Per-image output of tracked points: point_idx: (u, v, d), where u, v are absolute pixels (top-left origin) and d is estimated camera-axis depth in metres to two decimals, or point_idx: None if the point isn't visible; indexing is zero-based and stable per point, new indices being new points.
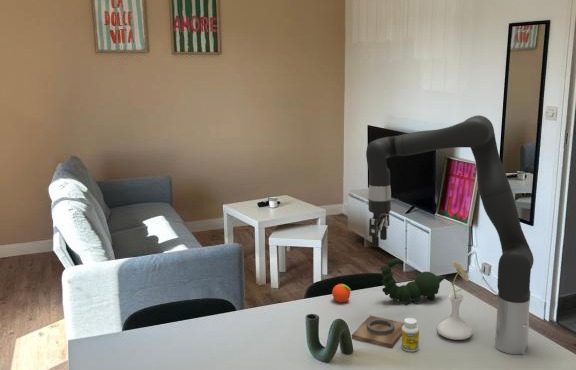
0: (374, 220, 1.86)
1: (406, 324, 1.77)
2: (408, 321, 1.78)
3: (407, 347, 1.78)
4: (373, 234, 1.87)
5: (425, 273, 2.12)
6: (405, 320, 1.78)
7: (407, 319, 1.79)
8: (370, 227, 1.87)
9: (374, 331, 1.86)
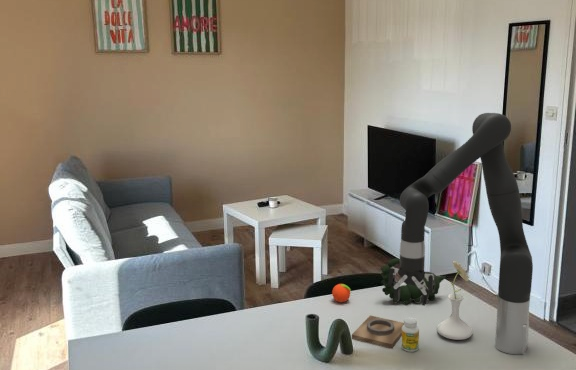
0: (433, 275, 1.72)
1: (406, 324, 1.77)
2: (408, 321, 1.78)
3: (407, 347, 1.78)
4: (433, 290, 1.72)
5: (425, 273, 2.12)
6: (405, 320, 1.78)
7: (407, 319, 1.79)
8: (432, 284, 1.71)
9: (374, 331, 1.86)
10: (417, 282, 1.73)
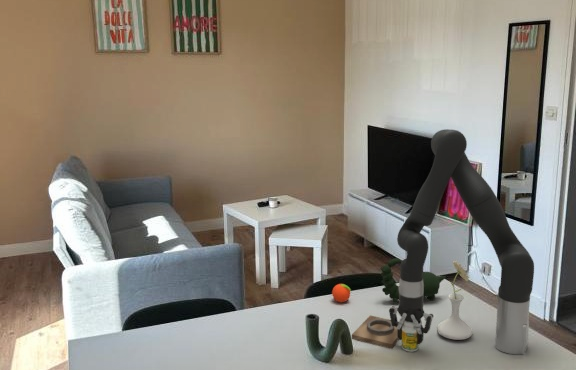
0: (432, 316, 1.75)
1: (406, 324, 1.77)
2: None
3: (407, 346, 1.78)
4: (428, 330, 1.76)
5: (425, 273, 2.12)
6: None
7: None
8: (429, 325, 1.74)
9: (374, 331, 1.86)
10: (415, 321, 1.75)
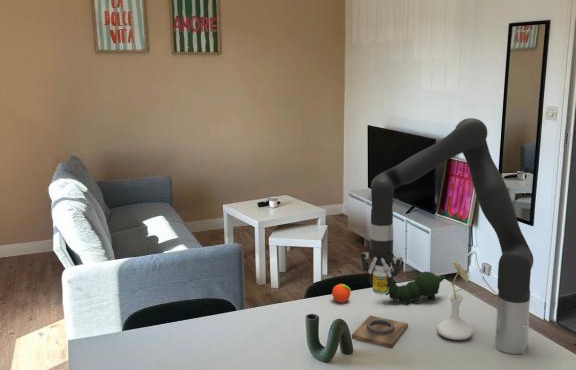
0: (401, 259, 1.81)
1: (377, 268, 1.84)
2: None
3: (377, 290, 1.84)
4: (398, 273, 1.83)
5: (425, 273, 2.12)
6: None
7: None
8: (398, 268, 1.81)
9: (374, 331, 1.86)
10: (385, 264, 1.82)
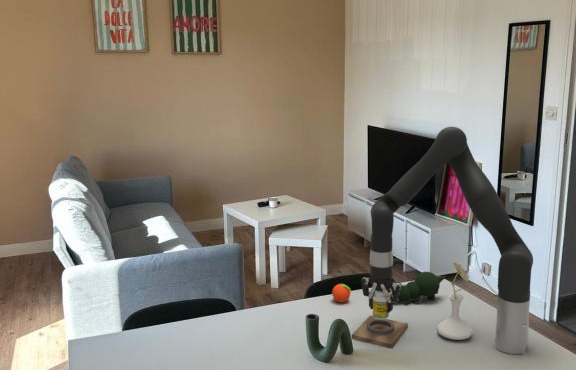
0: (400, 285, 1.84)
1: (376, 293, 1.86)
2: None
3: (377, 315, 1.87)
4: (397, 298, 1.85)
5: (425, 273, 2.12)
6: None
7: None
8: (398, 294, 1.83)
9: (374, 331, 1.86)
10: (385, 290, 1.84)
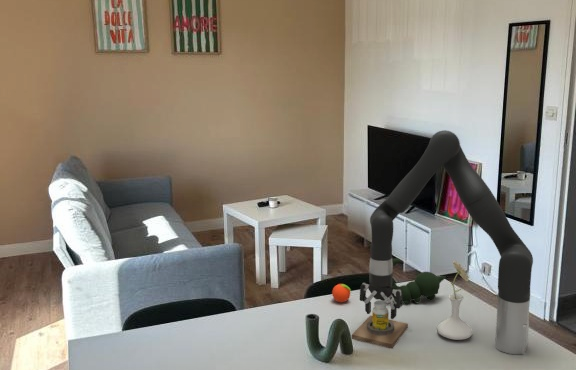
0: (400, 291, 1.84)
1: (376, 306, 1.87)
2: (378, 303, 1.87)
3: (377, 327, 1.88)
4: (401, 305, 1.85)
5: (425, 273, 2.12)
6: (375, 302, 1.88)
7: (377, 301, 1.89)
8: (400, 299, 1.83)
9: (374, 331, 1.86)
10: (385, 297, 1.85)
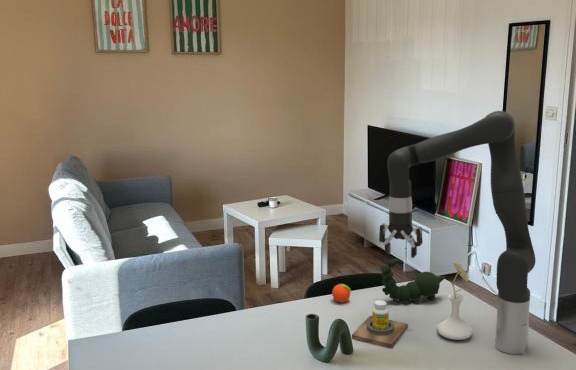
0: (420, 228, 1.85)
1: (376, 306, 1.87)
2: (378, 303, 1.87)
3: (377, 327, 1.88)
4: (421, 242, 1.85)
5: (425, 273, 2.12)
6: (375, 302, 1.88)
7: (377, 301, 1.89)
8: (420, 237, 1.84)
9: (374, 331, 1.86)
10: (406, 236, 1.85)
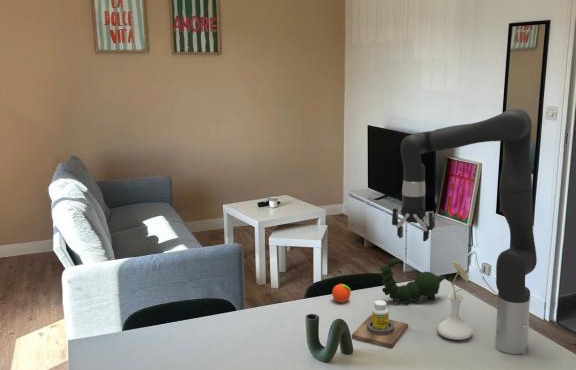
0: (433, 212, 1.87)
1: (376, 306, 1.87)
2: (378, 303, 1.87)
3: (377, 327, 1.88)
4: (433, 226, 1.88)
5: (425, 273, 2.12)
6: (375, 302, 1.88)
7: (377, 301, 1.89)
8: (432, 221, 1.87)
9: (374, 331, 1.86)
10: (418, 219, 1.88)
